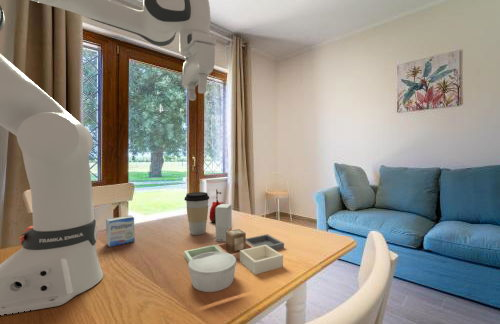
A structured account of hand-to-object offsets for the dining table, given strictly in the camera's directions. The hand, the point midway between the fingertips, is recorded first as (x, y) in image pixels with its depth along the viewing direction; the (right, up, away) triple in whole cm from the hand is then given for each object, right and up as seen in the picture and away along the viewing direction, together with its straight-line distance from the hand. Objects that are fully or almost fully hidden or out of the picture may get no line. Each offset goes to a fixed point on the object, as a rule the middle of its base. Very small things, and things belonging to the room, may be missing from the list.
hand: (196, 96), depth 69 cm
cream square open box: (+18, -47, -5) cm, 50 cm away
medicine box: (-29, -47, +13) cm, 57 cm away
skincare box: (+6, -46, +15) cm, 49 cm away
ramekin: (+7, -47, -13) cm, 50 cm away
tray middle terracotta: (+11, -47, +3) cm, 48 cm away
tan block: (+11, -46, +3) cm, 47 cm away
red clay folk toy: (+1, -46, +37) cm, 59 cm away
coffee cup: (-5, -46, +23) cm, 52 cm away
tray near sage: (+3, -47, -2) cm, 47 cm away
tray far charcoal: (+19, -46, +7) cm, 51 cm away
